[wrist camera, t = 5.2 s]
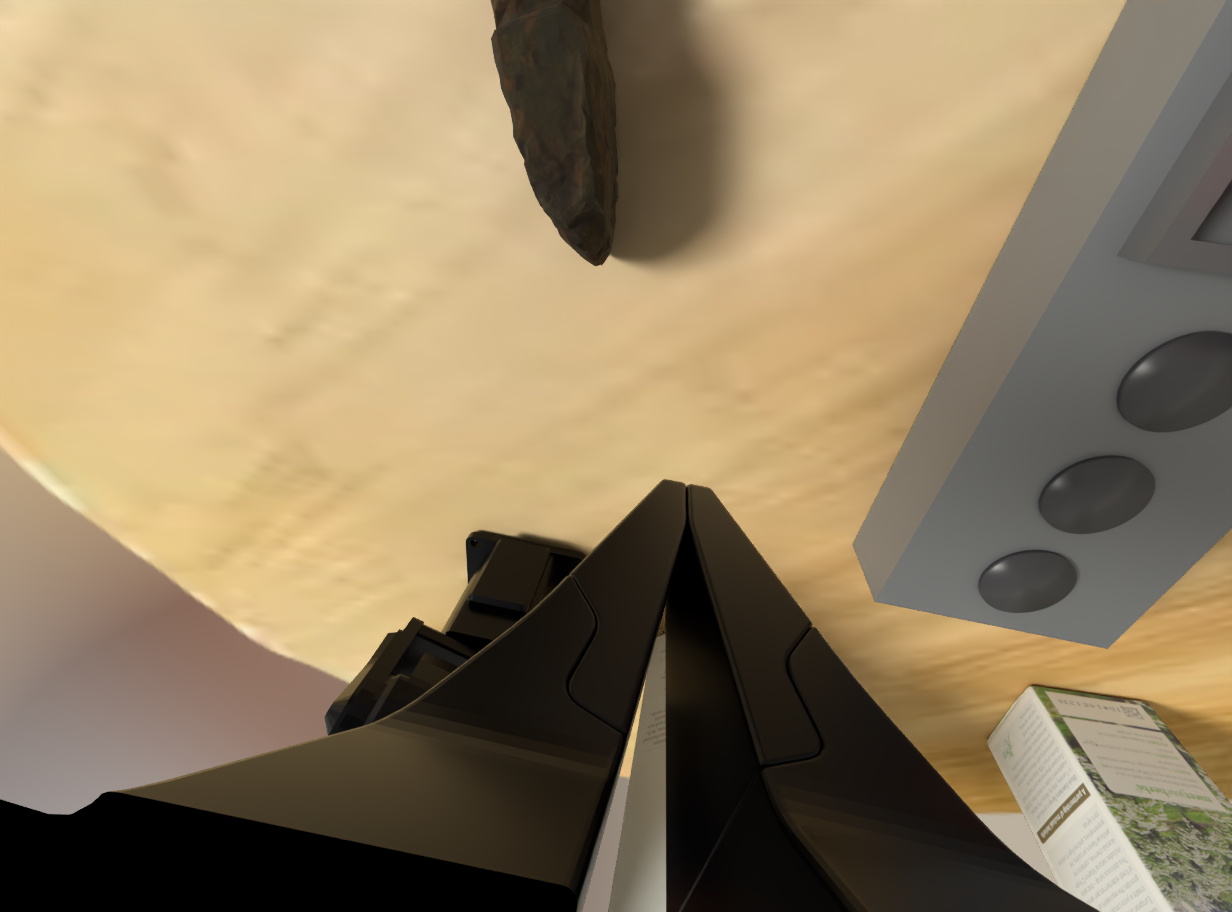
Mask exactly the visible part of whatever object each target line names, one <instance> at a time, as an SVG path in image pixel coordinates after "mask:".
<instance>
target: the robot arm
mask: <svg viewBox="0 0 1232 912" xmlns="http://www.w3.org/2000/svg"><path fill="white" fill-rule="evenodd" d="M475 540H476V541H478V542H479V543H478V542H476V541H475ZM466 554H467V572H468V585H467V587H466V589H465V591H464V593H463V594H462V596H461V598H460V600H459V601H458V603H457V605H456V607H455V608H454V610H453V612H452V614H451V615H450V617H449V619H448V621H447V623H446V624H445V626H444V628H443V630H442V631H441V632H439V631H437V630H435V629H433V628H431V627H428V626H426V625H424V622H423V621H421V620H419V619H417V618H414V617H413V618H412V619H411V621H410V622H409V623H408V625H407V626H406V628H405V629H404V630H403V631H402V630H400V629H399V630H398V632H395V633H388V634H387V636H386V637H385V639H384V640H383V642H382V643H381V645H380V646H379V647H378V649H377V650H376V652H375V653H374V655H373V656H372V658H371V659H370V660H369V662H368V663H367V665H366V666H365V667H364V668H363V669H362V671H361V672H360V673H359V674H358V675H357V676H356V677H355V679H354V680H353V681H352V682H351V683H350V684H349V685H348V686H347V688H346V689H345V690H344V691H343V692H342V693H341V694H340V696H339V697H338V698H337V699H336V700H335V701H334V702H333V704H332V705H331V707H330V708H329V710H328V712H327V713H326V715H325V722H326V728H327V733H328V736H325V737H322V738H318V739H315V740H311V741H307V742H304V743H300V744H296V745H293V746H289V747H286V748H282V749H278V750H275V751H271V752H267V753H264V754H260V755H256V756H253V757H250V758H246V759H242V760H238V761H235V762H231V763H227V764H224V765H220V766H217V767H213V768H209V769H206V770H202V771H199V772H195V773H191V774H187V775H184V776H180V777H176V778H173V779H169V780H165V781H161V782H157V783H152V784H148V785H144V786H139V787H135V788H131V789H126V790H118V791H111V792H106V793H103V794H101V795H100V796H99V797H98V798H97V799H96V800H95V801H94V802H93V803H92V804H90V805H88V806H86V807H84V808H82V809H80V810H78V811H77V812H75V813H73V814H70V815H61V814H60V815H59V814H46V813H43V812H40V811H37V810H33V809H30V808H27V807H23V806H20V805H17V804H14V803H10V802H7V801H4V800H0V912H582V910H583V906H584V903H585V899H586V895H587V892H588V888H589V884H590V881H591V877H592V873H593V870H594V866H595V862H596V859H597V855H598V851H599V848H600V844H601V840H602V837H603V833H604V829H605V825H606V822H607V818H608V815H609V811H610V807H611V803H612V800H613V796H614V793H615V789H616V785H617V781H618V778H619V774H620V770H621V767H622V763H623V759H624V756H625V752H626V748H627V745H628V741H629V737H630V734H631V730H632V726H633V723H634V719H635V715H636V712H637V708H638V704H639V701H640V697H641V693H642V690H643V686H644V682H645V679H646V675H647V671H648V668H649V664H650V660H651V656H652V653H653V649H654V645H655V642H656V638H657V634H658V631H659V627H660V623H661V620H662V616H663V612H664V608H665V605H666V616H665V673H666V912H1100V911H1099V910H1097V909H1095V908H1094V907H1092V906H1090V905H1088V904H1087V903H1085V902H1083V901H1082V900H1080V899H1078V898H1076V897H1075V896H1073V895H1071V894H1070V893H1068V892H1067V891H1065V890H1063V889H1062V888H1060V887H1059V886H1057V885H1056V884H1054V883H1053V882H1051V881H1050V880H1049V879H1047V878H1046V877H1044V876H1043V875H1041V874H1040V873H1039V872H1037V871H1036V870H1034V869H1033V868H1032V867H1031V866H1029V865H1028V864H1027V863H1026V862H1024V861H1023V860H1022V859H1021V858H1020V857H1019V856H1017V855H1016V854H1015V853H1014V852H1012V850H1010V849H1009V848H1008V847H1007V846H1006V845H1005V844H1004V843H1003V842H1002V841H1001V840H1000V839H999V838H998V837H997V836H996V835H994V833H993V832H992V831H991V830H990V829H989V828H988V827H987V826H986V825H985V824H984V823H983V822H982V821H981V820H980V819H979V818H978V817H977V816H976V815H975V813H974V812H973V811H972V810H971V809H970V808H969V807H968V806H967V804H966V803H965V802H964V801H963V800H962V799H961V798H960V797H959V796H958V794H957V793H956V792H955V791H954V790H953V789H952V788H951V787H950V785H949V784H948V783H947V782H946V781H945V780H944V779H943V778H942V777H941V775H940V774H939V773H938V772H937V771H936V770H935V769H934V768H933V766H932V765H931V764H930V763H929V762H928V761H927V760H926V759H925V758H924V756H923V755H922V754H921V753H920V752H919V751H918V750H917V749H916V748H915V746H914V745H913V744H912V743H911V742H910V741H909V740H908V739H907V737H906V736H905V735H904V734H903V733H902V732H901V731H900V730H899V729H898V727H897V726H896V725H895V724H894V723H893V722H892V721H891V720H890V718H889V717H888V716H887V715H886V714H885V713H884V712H883V710H882V709H881V708H880V707H879V706H878V705H877V703H876V702H875V701H874V700H873V699H872V698H871V697H870V695H869V694H868V693H867V692H866V691H865V690H864V688H863V687H862V686H861V685H860V684H859V683H858V681H857V680H856V679H855V678H854V677H853V675H852V674H851V673H850V671H849V670H848V669H847V668H846V666H845V665H844V664H843V663H842V661H841V660H840V659H839V658H838V656H837V655H836V654H835V652H834V651H833V650H832V649H831V647H830V646H829V645H828V643H827V642H826V641H825V639H824V638H823V637H822V635H821V634H820V633H819V631H818V630H817V629H816V628H815V627H812V623H811V621H810V620H809V618H808V617H807V616H806V614H805V613H804V612H803V610H802V609H801V608H800V607H799V605H798V604H797V603H796V601H795V600H794V599H793V597H792V596H791V595H790V593H789V592H788V591H787V589H786V588H785V587H784V585H783V584H782V583H781V581H780V580H779V579H778V577H777V576H776V575H775V573H774V572H773V571H772V569H771V568H770V567H769V565H768V564H767V563H766V561H765V560H764V559H763V557H762V556H761V555H760V553H759V552H758V551H757V549H756V548H755V547H754V545H753V544H752V543H751V541H750V540H749V539H748V537H747V536H746V535H745V533H744V532H743V531H742V529H741V528H740V527H739V525H738V524H737V523H736V521H735V520H734V519H733V517H732V516H731V515H730V513H729V512H728V511H727V509H726V508H725V507H724V505H723V504H722V503H721V501H720V500H719V499H718V497H717V496H716V495H715V493H714V492H713V491H712V490H711V489H710V488H708V487H703V486H698V485H693V484H689V485H687V487H686V485H685V484H684V483H682V482H677V481H672V480H667V479H664V480H662V481H661V482H660V483H659V484H658V485H657V486H656V487H655V488H654V489H653V490H652V491H651V492H650V493H649V494H648V495H647V496H646V497H645V498H644V499H643V500H642V501H641V502H640V503H639V504H638V505H637V506H636V507H635V508H634V509H633V510H632V511H631V512H630V513H629V514H628V515H627V516H626V517H625V518H624V519H623V520H622V521H621V522H620V523H619V524H618V525H617V526H616V527H615V528H614V529H613V530H612V531H611V532H610V533H609V534H608V535H607V536H606V537H605V538H604V539H603V540H602V541H601V542H600V543H599V544H598V545H597V546H596V547H595V548H594V549H593V550H592V552H591V553H590V554H589V555H588V556H587V557H586V556H585V555H583V554H582V553H579V552H574V551H569V550H564V549H559V548H554V547H550V546H545V545H540V544H535V543H530V542H525V541H520V540H515V539H510V538H505V537H500V536H496V535H491V534H486V533H481V532H472V533H471V534H470V535H469V536H468V538H467V539H466ZM575 561H578V562H580V563H576V562H575Z"/></svg>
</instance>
